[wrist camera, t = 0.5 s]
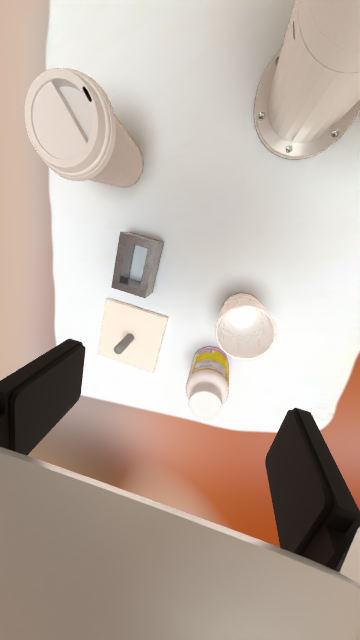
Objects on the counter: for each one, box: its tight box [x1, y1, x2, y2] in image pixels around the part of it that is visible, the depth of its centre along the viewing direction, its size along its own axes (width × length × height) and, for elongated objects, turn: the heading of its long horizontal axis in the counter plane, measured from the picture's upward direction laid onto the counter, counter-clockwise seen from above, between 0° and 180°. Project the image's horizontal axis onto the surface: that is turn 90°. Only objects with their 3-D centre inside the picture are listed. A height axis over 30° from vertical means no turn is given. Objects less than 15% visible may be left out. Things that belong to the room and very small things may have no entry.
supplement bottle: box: [186, 347, 229, 419], centre depth 39 cm, size 7×7×13 cm
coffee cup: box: [24, 68, 143, 187], centre depth 30 cm, size 10×10×15 cm
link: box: [112, 232, 164, 298], centre depth 40 cm, size 9×6×4 cm, turn 165°
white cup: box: [215, 293, 276, 360], centre depth 37 cm, size 8×8×10 cm
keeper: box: [98, 298, 168, 373], centre depth 44 cm, size 12×12×6 cm
